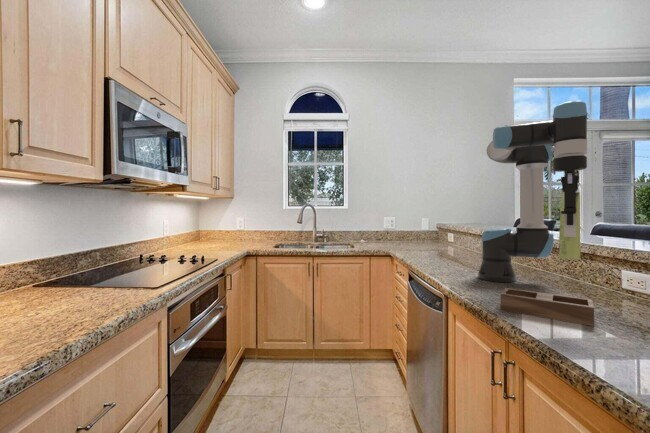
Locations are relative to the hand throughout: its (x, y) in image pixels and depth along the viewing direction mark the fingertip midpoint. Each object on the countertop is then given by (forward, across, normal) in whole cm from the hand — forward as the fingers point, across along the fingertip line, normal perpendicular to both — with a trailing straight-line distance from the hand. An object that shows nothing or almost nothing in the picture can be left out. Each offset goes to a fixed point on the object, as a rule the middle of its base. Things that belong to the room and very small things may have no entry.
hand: (569, 235), depth 86 cm
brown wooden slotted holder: (+24, 0, -6) cm, 25 cm away
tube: (+7, 0, 0) cm, 7 cm away
